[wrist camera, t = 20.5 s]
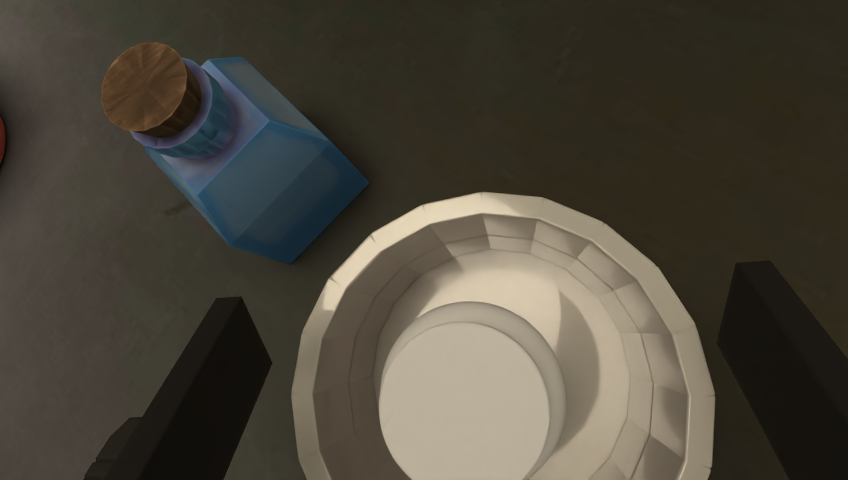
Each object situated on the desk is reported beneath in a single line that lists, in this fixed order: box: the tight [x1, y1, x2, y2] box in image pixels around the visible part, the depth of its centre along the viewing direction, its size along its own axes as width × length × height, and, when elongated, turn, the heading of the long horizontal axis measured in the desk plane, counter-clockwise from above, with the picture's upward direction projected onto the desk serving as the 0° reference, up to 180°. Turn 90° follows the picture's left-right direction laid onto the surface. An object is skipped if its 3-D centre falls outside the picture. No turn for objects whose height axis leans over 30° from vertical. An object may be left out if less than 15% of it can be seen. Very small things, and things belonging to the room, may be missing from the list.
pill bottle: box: [379, 301, 567, 480], centre depth 19 cm, size 6×6×11 cm
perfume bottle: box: [101, 42, 370, 264], centre depth 23 cm, size 6×6×12 cm
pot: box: [291, 192, 715, 480], centre depth 21 cm, size 14×14×8 cm
